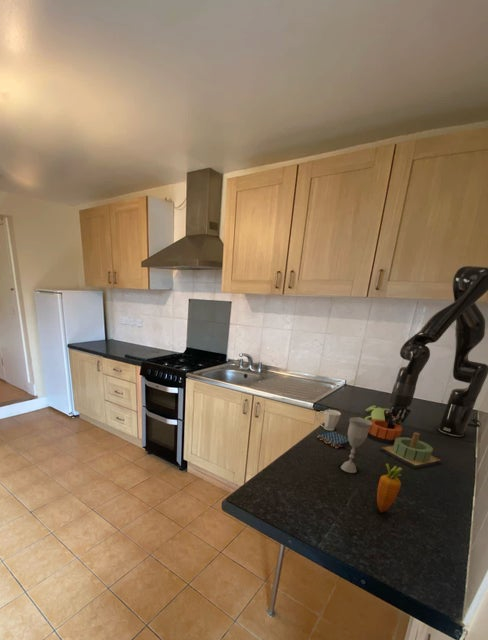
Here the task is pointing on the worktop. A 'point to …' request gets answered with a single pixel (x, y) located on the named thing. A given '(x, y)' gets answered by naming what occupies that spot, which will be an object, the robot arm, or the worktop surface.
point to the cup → (330, 419)
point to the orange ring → (384, 430)
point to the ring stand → (412, 445)
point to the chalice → (356, 439)
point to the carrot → (388, 488)
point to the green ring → (412, 449)
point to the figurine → (376, 413)
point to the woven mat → (333, 439)
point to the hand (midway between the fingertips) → (391, 431)
